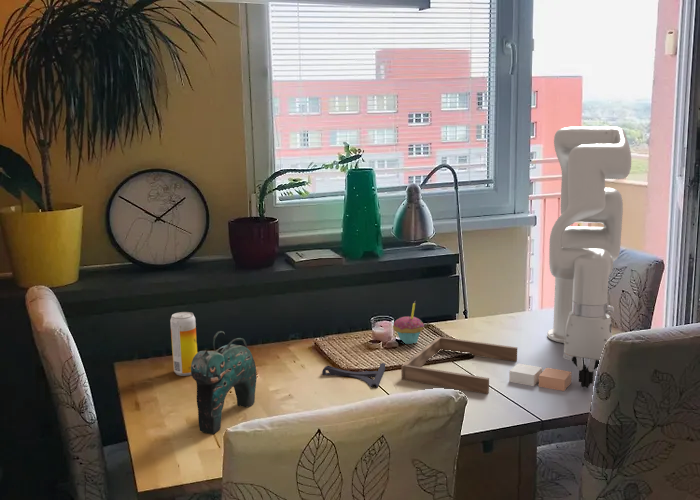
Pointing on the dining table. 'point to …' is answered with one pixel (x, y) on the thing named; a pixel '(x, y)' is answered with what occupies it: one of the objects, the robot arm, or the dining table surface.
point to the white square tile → (525, 374)
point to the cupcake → (408, 328)
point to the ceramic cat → (222, 381)
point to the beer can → (183, 342)
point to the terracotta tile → (555, 379)
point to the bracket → (359, 374)
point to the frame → (450, 379)
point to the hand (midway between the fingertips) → (585, 385)
